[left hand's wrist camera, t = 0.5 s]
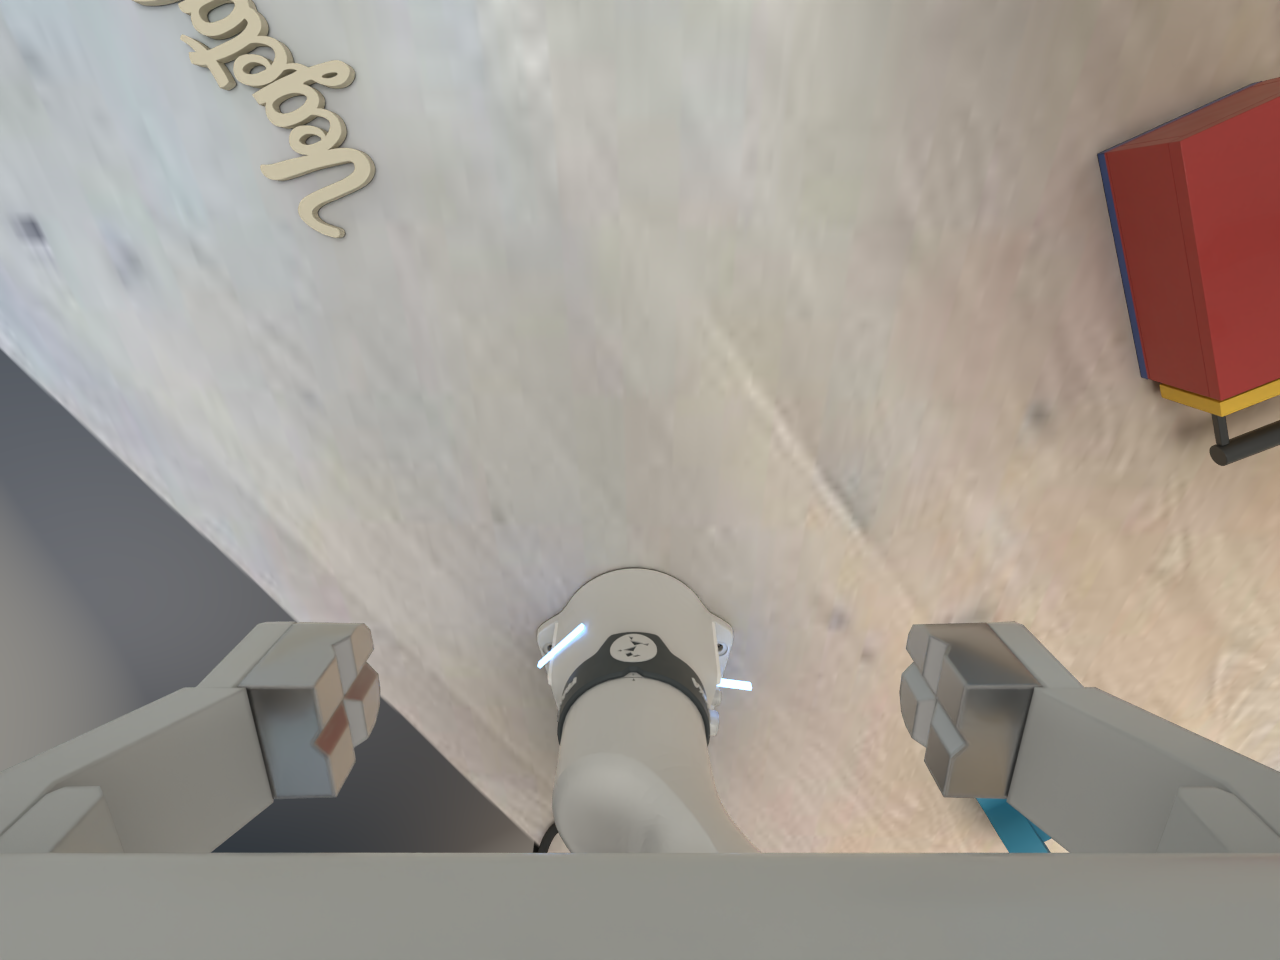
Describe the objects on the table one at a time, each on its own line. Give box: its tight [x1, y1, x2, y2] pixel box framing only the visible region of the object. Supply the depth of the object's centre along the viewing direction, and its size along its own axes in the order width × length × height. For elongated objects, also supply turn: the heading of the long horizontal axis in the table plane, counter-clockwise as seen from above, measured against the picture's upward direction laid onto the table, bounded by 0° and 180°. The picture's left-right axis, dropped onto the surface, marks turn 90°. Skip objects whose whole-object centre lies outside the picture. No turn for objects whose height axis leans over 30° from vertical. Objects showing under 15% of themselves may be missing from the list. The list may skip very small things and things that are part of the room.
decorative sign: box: [132, 0, 375, 238], centre depth 48 cm, size 26×1×10 cm
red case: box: [1098, 77, 1280, 401], centre depth 49 cm, size 19×11×8 cm, turn 25°
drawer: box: [1160, 378, 1280, 466], centre depth 51 cm, size 22×10×6 cm, turn 25°
